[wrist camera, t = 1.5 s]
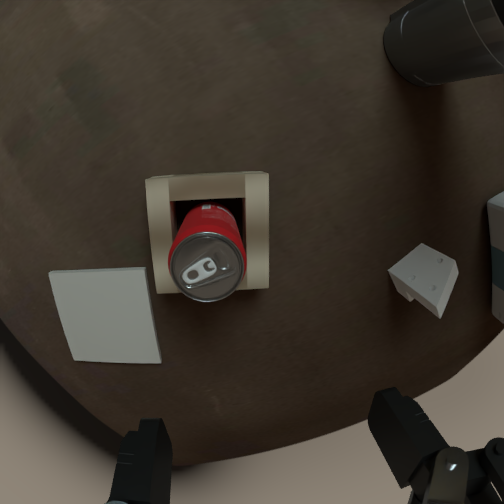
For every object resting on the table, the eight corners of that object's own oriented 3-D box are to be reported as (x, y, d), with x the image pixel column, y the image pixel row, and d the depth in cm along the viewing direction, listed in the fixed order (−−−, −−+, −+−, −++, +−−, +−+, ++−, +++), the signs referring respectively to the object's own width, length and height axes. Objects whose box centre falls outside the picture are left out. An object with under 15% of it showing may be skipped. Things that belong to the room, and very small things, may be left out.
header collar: (154, 176, 28) (145, 179, 24) (261, 171, 29) (268, 173, 26) (163, 277, 31) (157, 293, 28) (262, 272, 33) (268, 288, 29)
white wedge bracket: (368, 300, 32) (436, 307, 25) (402, 243, 37) (461, 240, 29) (379, 321, 34) (443, 330, 26) (411, 264, 38) (468, 264, 30)
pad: (51, 270, 30) (48, 273, 29) (145, 267, 31) (144, 269, 30) (76, 356, 33) (74, 360, 33) (161, 359, 35) (161, 363, 34)
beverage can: (244, 235, 31) (262, 282, 20) (200, 259, 31) (193, 318, 20) (220, 190, 29) (223, 212, 18) (174, 216, 30) (150, 253, 18)
